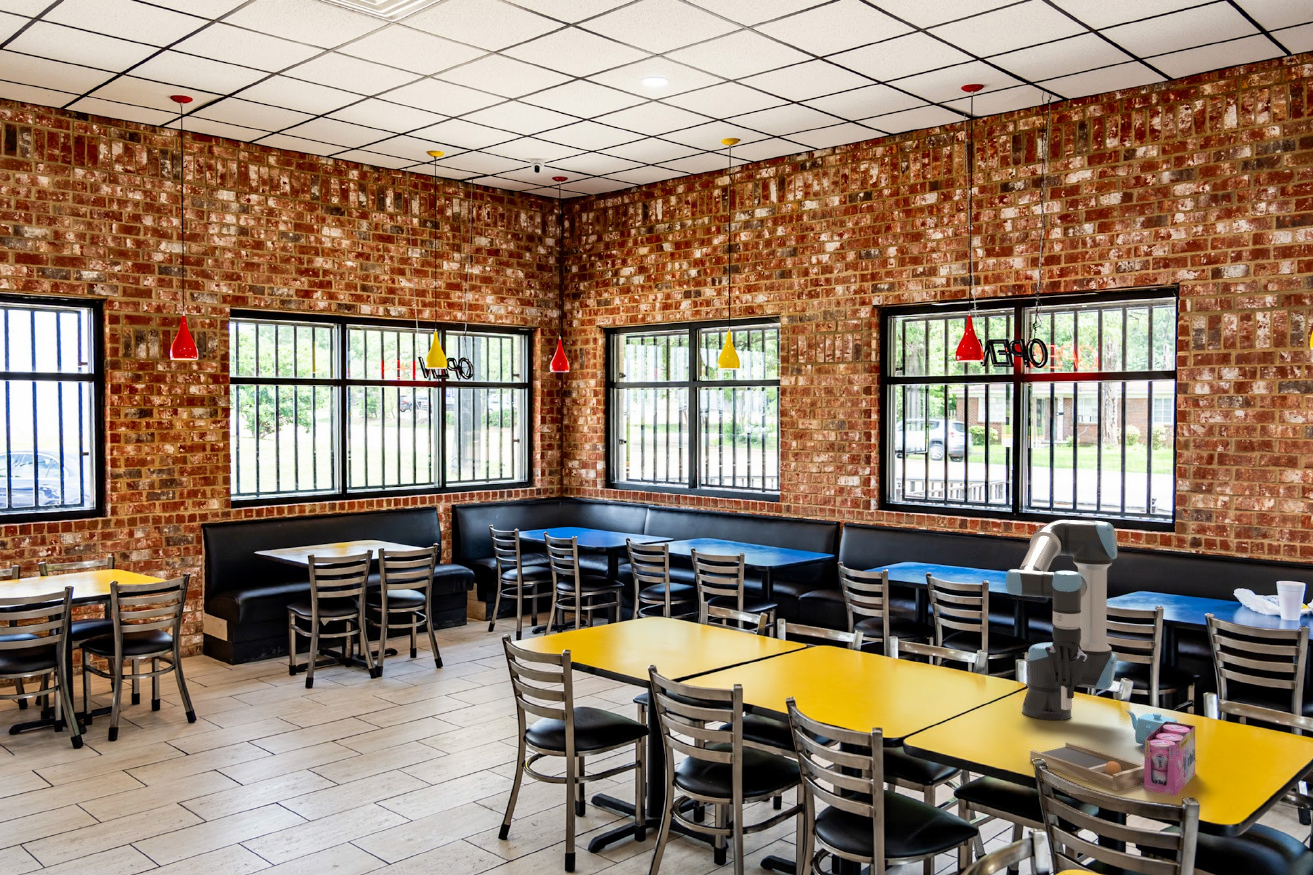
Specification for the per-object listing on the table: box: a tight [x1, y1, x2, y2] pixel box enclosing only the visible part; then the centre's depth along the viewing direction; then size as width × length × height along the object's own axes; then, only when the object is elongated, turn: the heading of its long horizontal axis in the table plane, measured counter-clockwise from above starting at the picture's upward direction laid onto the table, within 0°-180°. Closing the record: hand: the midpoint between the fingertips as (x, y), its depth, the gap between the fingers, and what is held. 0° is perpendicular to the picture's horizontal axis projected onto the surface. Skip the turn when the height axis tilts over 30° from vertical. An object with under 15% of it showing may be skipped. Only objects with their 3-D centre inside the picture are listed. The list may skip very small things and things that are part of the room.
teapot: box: [1125, 710, 1178, 749], centre depth 302 cm, size 18×14×10 cm
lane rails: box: [1029, 741, 1144, 792], centre depth 282 cm, size 16×27×4 cm, turn 31°
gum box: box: [1143, 721, 1196, 797], centre depth 274 cm, size 24×8×14 cm, turn 140°
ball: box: [1105, 761, 1121, 776], centre depth 277 cm, size 4×4×4 cm
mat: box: [1040, 746, 1124, 775], centre depth 283 cm, size 14×26×2 cm, turn 31°
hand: (1066, 708), depth 290 cm, fingers closed
